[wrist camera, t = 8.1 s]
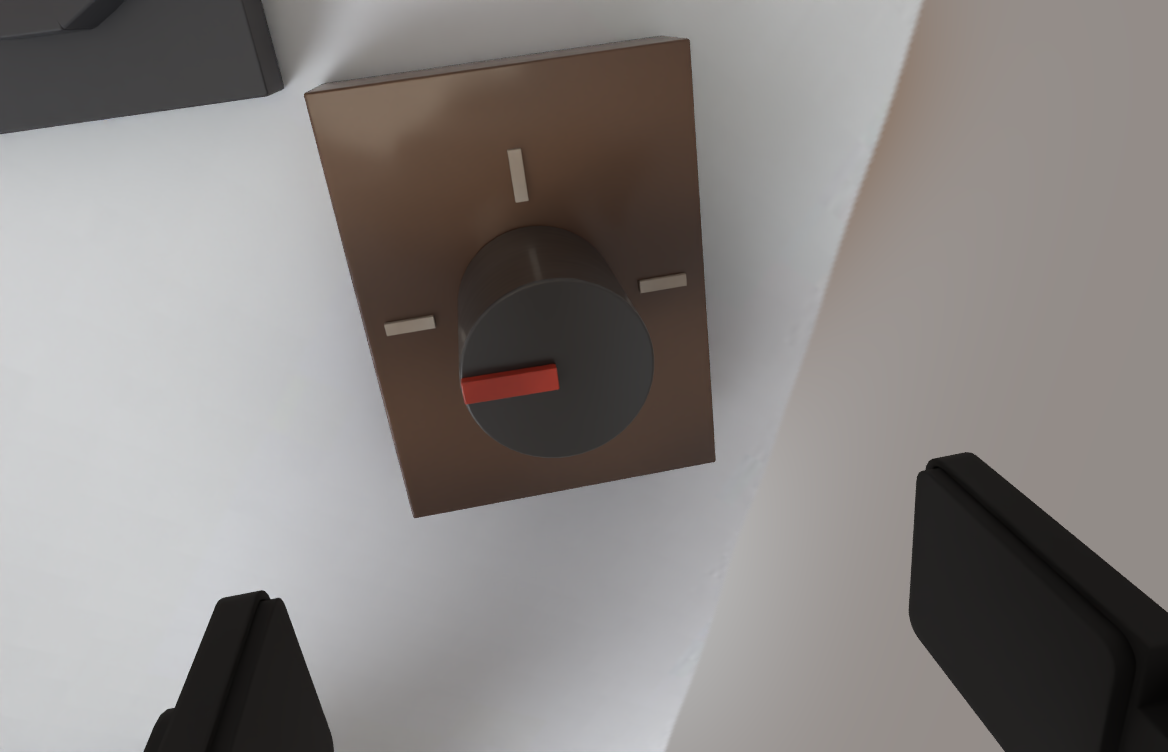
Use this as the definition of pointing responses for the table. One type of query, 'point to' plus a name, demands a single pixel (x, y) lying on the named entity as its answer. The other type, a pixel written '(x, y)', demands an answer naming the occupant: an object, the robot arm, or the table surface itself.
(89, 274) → the table surface
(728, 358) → the table surface
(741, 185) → the table surface
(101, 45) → the switch base
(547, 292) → the dial
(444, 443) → the dial panel
